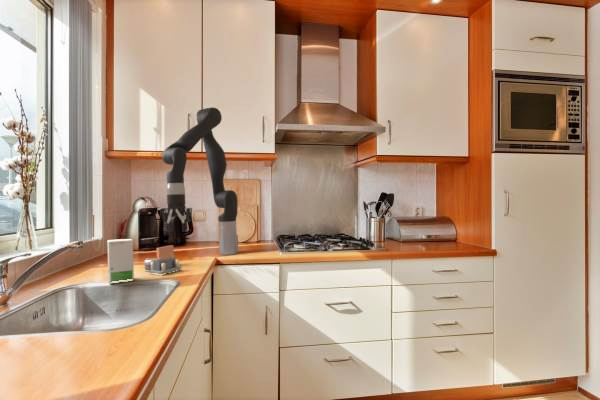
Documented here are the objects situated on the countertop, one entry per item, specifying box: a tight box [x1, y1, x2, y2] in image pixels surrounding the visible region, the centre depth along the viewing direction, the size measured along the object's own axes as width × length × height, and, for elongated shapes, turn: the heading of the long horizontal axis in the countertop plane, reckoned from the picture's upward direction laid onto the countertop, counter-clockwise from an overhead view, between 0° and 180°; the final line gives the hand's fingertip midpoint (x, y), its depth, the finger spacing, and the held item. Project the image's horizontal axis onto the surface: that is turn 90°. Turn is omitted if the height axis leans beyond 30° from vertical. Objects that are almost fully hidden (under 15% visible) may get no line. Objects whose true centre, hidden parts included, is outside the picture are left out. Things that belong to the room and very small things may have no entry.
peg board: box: [148, 259, 182, 274], centre depth 141 cm, size 10×8×4 cm
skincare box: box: [106, 238, 135, 283], centre depth 128 cm, size 8×7×16 cm
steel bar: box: [153, 256, 177, 271], centre depth 141 cm, size 8×4×4 cm, turn 151°
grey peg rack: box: [143, 244, 175, 267], centre depth 150 cm, size 14×6×7 cm, turn 151°
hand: (177, 231), depth 151 cm, fingers open, 6 cm apart
